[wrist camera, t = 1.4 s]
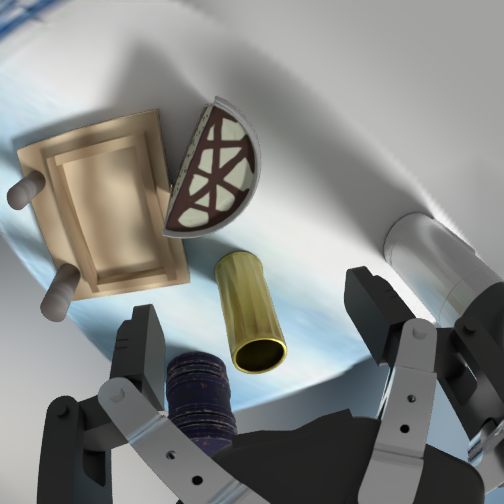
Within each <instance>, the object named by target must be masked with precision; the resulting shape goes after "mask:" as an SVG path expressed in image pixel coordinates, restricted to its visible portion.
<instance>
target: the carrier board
mask: <svg viewBox="0 0 504 504" xmlns="http://www.w3.org/2000/svg"><path fill="white" fill-rule="evenodd" d="M17 154H18V158H19V161H20V165H21V169H22V172H23V176H24V178H23V179H22V180H20V181H19V182H18V183H17V184H15V185H14V186H13V187H11V188H10V189H9V191H8V193H7V201H8V204H9V205H10V207H11V208H13V209H15V210H21V209H23V208H24V207H25V206H26V205H27V204H28V203H29V202H30V201H31V202H32V205H33V208H34V211H35V214H36V217H37V220H38V222H39V225H40V228H41V231H42V233H43V236H44V239H45V241H46V244H47V246H48V249H49V251H50V254H51V256H52V259H53V261H54V264H55V266H56V268H57V271H58V272H57V274H56V275H55V277H54V279H53V281H52V283H51V285H50V287H49V289H48V291H47V293H46V295H45V297H44V299H43V301H42V303H41V306H40V308H41V312H42V314H43V315H44V316H45V317H46V318H47V319H49V320H51V321H53V322H60V321H62V320H64V318H65V316H66V313H67V311H68V308H69V305H70V303H71V301H76V300H83V299H90V298H96V297H103V296H110V295H116V294H123V293H129V292H135V291H142V290H148V289H154V288H161V287H167V286H173V285H179V284H185V283H190V272H189V267H188V263H187V259H186V254H185V250H184V245H183V241H182V238H171V237H167V236H162V229H163V228H164V223H165V218H166V213H167V207H168V202H169V197H170V193H171V182H170V177H169V172H168V166H167V161H166V155H165V150H164V144H163V138H162V132H161V126H160V120H159V114H158V109H156V110H151V111H146V112H141V113H137V114H132V115H128V116H124V117H120V118H116V119H112V120H108V121H104V122H100V123H96V124H93V125H89V126H85V127H82V128H78V129H75V130H72V131H68V132H65V133H62V134H59V135H56V136H53V137H50V138H47V139H44V140H41V141H38V142H35V143H32V144H30V145H27V146H24V147H22V148H21V149H19V150H17Z"/></svg>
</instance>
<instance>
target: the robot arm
mask: <svg viewBox="0 0 504 504" xmlns="http://www.w3.org/2000/svg"><path fill="white" fill-rule="evenodd" d="M384 256H385V259H386V261H387V262H388V264H389V265H390V266H391V267H392V268H393V269H394V270H395V272H396V273H397V274H398V275H399V276H400V277H401V279H402V280H403V281H404V282H405V283H406V284H407V286H408V287H409V288H410V289H411V290H412V292H413V293H414V294H415V295H416V296H417V297H418V299H419V300H420V301H421V302H422V303H423V305H424V306H425V307H426V308H427V310H428V311H429V312H430V313H431V314H432V316H433V317H434V318H435V319H436V321H437V322H438V323H439V324H440V326H441V327H442V328H435V326H434V325H433V324H432V323H431V322H429V321H427V320H425V319H421V318H416V317H415V315H414V314H413V313H412V311H411V310H410V309H409V308H408V306H407V305H406V304H405V303H404V301H403V300H402V299H401V297H399V295H398V294H397V292H396V291H395V290H394V289H393V287H392V286H391V285H390V284H389V282H388V281H386V280H385V279H383V278H382V277H380V276H378V275H376V276H373V275H372V274H371V272H370V271H369V270H368V269H367V267H365V266H361V267H356V268H352V269H348V270H347V272H346V281H345V292H344V304H345V308H346V311H347V313H348V315H349V316H350V318H351V320H352V321H353V323H354V325H355V327H356V328H357V330H358V332H359V333H360V335H361V337H362V339H363V340H364V342H365V344H366V346H367V347H368V349H369V351H370V353H371V354H372V356H373V358H374V360H375V361H376V363H377V365H378V366H383V365H386V364H388V365H389V367H390V370H389V373H388V378H387V381H386V385H385V389H384V393H383V396H382V399H381V403H380V406H379V410H378V413H377V415H376V418H371V417H366V416H352V415H351V412H350V410H349V409H346V410H342V411H339V412H335V413H332V414H328V415H325V416H322V417H319V418H317V419H315V420H314V421H312V422H310V423H308V424H306V425H304V426H302V427H300V428H298V429H296V430H292V431H264V430H261V431H255V432H250V433H244V434H238V435H232V436H231V440H232V443H231V444H229V445H226V446H225V447H223V448H221V449H219V450H218V451H216V452H215V453H214V454H213V455H211V456H210V457H209V456H207V455H206V454H205V453H204V452H203V451H202V450H201V449H200V448H198V447H197V446H196V445H195V444H194V443H193V442H192V441H191V440H190V439H189V438H188V437H187V436H186V435H185V434H183V433H182V432H181V431H180V430H179V429H178V428H177V427H176V426H175V425H174V424H173V423H172V422H171V421H170V420H169V419H168V418H167V417H166V416H164V415H163V416H162V415H161V414H159V412H158V411H164V374H165V339H164V334H163V331H162V328H161V325H160V322H159V320H158V317H157V314H156V312H155V309H154V306H153V305H152V304H148V305H141V306H135V307H134V308H133V313H132V319H131V320H125V321H124V322H123V323H122V325H121V326H120V328H119V329H118V332H117V337H116V342H115V350H114V353H113V359H112V365H111V372H110V378H109V380H108V381H106V382H105V383H104V384H103V385H102V386H101V387H100V389H99V392H98V395H96V396H94V397H91V398H89V399H86V400H83V401H80V402H77V401H76V400H75V399H74V398H73V397H71V396H61V397H58V398H56V399H55V400H53V401H52V402H51V404H50V405H49V407H48V409H47V413H46V419H45V426H44V432H43V439H42V447H41V455H40V464H39V475H38V487H37V504H113V500H112V474H111V449H113V448H115V447H118V446H121V445H124V444H127V443H130V445H131V446H132V447H133V448H134V450H135V451H136V452H137V453H138V455H139V456H140V457H141V458H142V459H143V460H144V462H145V463H146V464H147V465H148V466H149V467H150V468H151V469H152V471H153V472H154V473H155V474H156V475H157V476H158V477H159V478H160V479H161V480H162V481H163V483H164V484H165V485H166V486H167V487H168V488H169V489H170V490H171V491H172V492H173V493H174V494H175V495H176V496H177V497H178V498H179V500H178V502H177V503H176V504H484V500H485V494H487V493H488V492H490V491H491V490H493V489H495V488H496V487H504V280H503V279H502V278H501V277H500V276H498V274H496V273H495V272H494V271H493V270H492V269H491V268H490V267H489V266H487V265H486V264H485V263H484V262H483V261H482V260H481V259H479V258H478V257H477V256H476V255H475V250H474V249H473V248H472V247H470V246H469V245H468V244H467V243H466V242H464V241H463V240H462V239H461V238H459V237H458V236H457V235H456V234H454V233H453V232H452V231H451V230H449V229H448V228H447V227H445V226H444V225H443V224H442V223H440V222H439V221H438V220H436V219H431V218H429V217H428V216H427V215H425V214H423V213H411V214H409V215H406V216H404V217H403V218H401V219H400V220H399V221H398V222H396V223H395V225H394V226H393V227H392V228H391V230H390V231H389V233H388V235H387V237H386V240H385V244H384ZM468 366H469V368H470V369H471V370H472V372H473V374H474V375H475V377H476V379H477V381H476V379H475V378H474V376H473V374H472V373H471V371H470V370H469V368H468ZM436 379H437V380H438V381H439V383H440V385H441V387H442V388H443V390H444V392H445V394H446V396H447V398H448V399H449V401H450V403H451V405H452V407H453V409H454V410H455V412H456V414H457V416H458V418H459V420H460V422H461V424H462V426H463V428H464V430H465V432H466V434H467V436H468V438H469V440H470V443H469V446H468V462H469V463H467V462H465V461H463V460H461V459H458V458H456V457H454V456H452V455H450V454H448V453H445V452H443V451H441V450H439V449H437V448H435V447H433V446H431V445H428V444H426V439H427V435H428V430H429V425H430V419H431V413H432V407H433V401H434V394H435V387H436Z"/></svg>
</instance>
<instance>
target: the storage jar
mask: <svg viewBox="0 0 504 504" xmlns="http://www.w3.org/2000/svg"><path fill="white" fill-rule="evenodd" d="M230 394H231V391H230V386H229V380H228V377H227V374H226V366H225V364H224V362H223V361H222V360H221V359H220V358H218V357H216V356H214V355H212V354H209V353H204V352H190V353H185V354H182V355H179V356H177V357H176V358H174V359H173V360H172V361H171V362H170V363H169V364H168V367H167V380H166V397H167V401H168V408H169V415H168V417H167V418H168V419H169V420H170V421H171V422H172V423H173V424H174V425H175V426H176V427H177V428H178V429H179V430H180V431H181V432H182V433H183V434H185V435H186V436H187V437H188V438H189V439H190V440H191V441H192V442H193V443H194V444H195V445H196V446H197V447H198V448H200V449H201V450H202V451H203V452H204V453H205V454H206V455H207V456H209V457H210V456H211V455H213V454H214V453H215V452H216V451H218V450H219V449H221V448H223V447H225V446H226V445H229V444H231V443H232V440H231V436H232V435H238V433H237V427H236V424H235V423H236V421H235V418H234V415H233V413H232V412H231V406H230V397H231V395H230Z"/></svg>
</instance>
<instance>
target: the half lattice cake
mask: <svg viewBox="0 0 504 504" xmlns="http://www.w3.org/2000/svg"><path fill="white" fill-rule="evenodd" d="M260 171H261V153H260V146H259V143H258V139H257V136H256V134H255V132H254V130H253V128H252V126H251V124H250V123H249V121H248V120H247V119H246V117H245V116H244V115H243V114H242V113H241V112H240V111H239V110H238V109H237V108H236V107H235V106H233V105H232V104H230V103H229V102H228V101H226V100H224V99H222V98H220V97H218V96H216V97H215V102H214V103H211V104H206V105H205V106H204V108H203V110H202V113H201V115H200V117H199V119H198V122H197V124H196V126H195V129H194V131H193V134H192V136H191V138H190V141H189V143H188V146H187V148H186V151H185V153H184V156H183V158H182V161H181V163H180V166H179V168H178V171H177V174H176V176H175V179H174V181H173V184H172V188H171V193H170V197H169V202H168V207H167V213H166V218H165V223H164V228H163V229H162V236H167V237H171V238H182V239H184V238H196V237H201V236H205V235H208V234H211V233H214V232H216V231H218V230H220V229H222V228H224V227H225V226H227V225H228V224H229V223H231V222H232V221H234V220H235V219H236V218H237V217H238V216H239V215H240V214H241V213H242V212H243V211H244V209H245V208H246V207H247V206H248V204H249V203H250V201H251V199H252V198H253V196H254V194H255V191H256V189H257V186H258V182H259V178H260Z"/></svg>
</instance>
